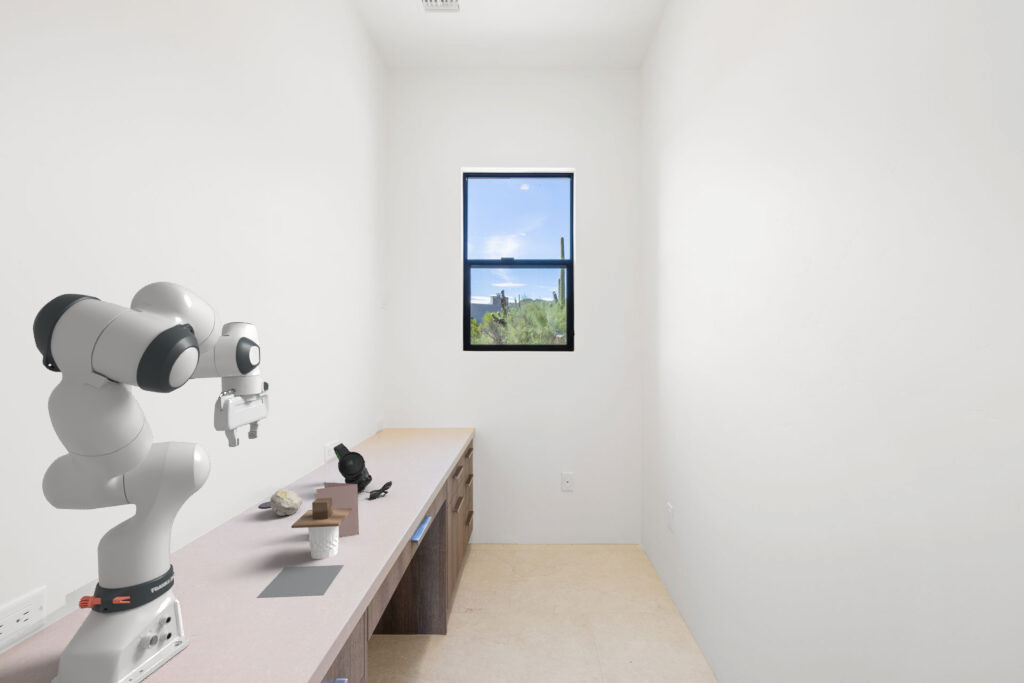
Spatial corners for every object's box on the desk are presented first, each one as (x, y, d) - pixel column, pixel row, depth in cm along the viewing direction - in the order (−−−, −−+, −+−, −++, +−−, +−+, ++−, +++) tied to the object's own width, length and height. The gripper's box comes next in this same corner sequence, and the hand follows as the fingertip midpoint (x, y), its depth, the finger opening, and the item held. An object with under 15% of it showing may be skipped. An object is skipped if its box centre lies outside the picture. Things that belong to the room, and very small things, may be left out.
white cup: (329, 562, 132) (328, 524, 132) (302, 561, 133) (301, 523, 133) (345, 550, 139) (344, 514, 139) (319, 548, 141) (318, 512, 141)
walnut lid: (338, 526, 130) (337, 506, 130) (291, 528, 130) (290, 508, 130) (351, 510, 142) (351, 492, 142) (308, 511, 142) (308, 493, 142)
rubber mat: (323, 597, 114) (323, 595, 114) (256, 599, 114) (256, 597, 114) (344, 566, 129) (343, 564, 129) (284, 569, 129) (284, 567, 129)
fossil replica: (296, 506, 179) (266, 515, 172) (293, 483, 178) (263, 491, 172) (308, 511, 169) (277, 522, 163) (305, 487, 169) (273, 496, 163)
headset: (367, 520, 186) (335, 471, 204) (399, 498, 192) (366, 452, 210) (353, 492, 175) (321, 443, 193) (388, 470, 181) (353, 424, 199)
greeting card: (360, 533, 151) (359, 483, 151) (346, 543, 144) (344, 490, 144) (327, 530, 154) (326, 481, 154) (311, 539, 147) (310, 488, 147)
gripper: (232, 391, 116) (234, 451, 116) (272, 383, 137) (274, 434, 137) (204, 392, 116) (207, 452, 116) (249, 383, 136) (250, 434, 137)
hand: (243, 442), depth 127 cm, fingers open, 8 cm apart
